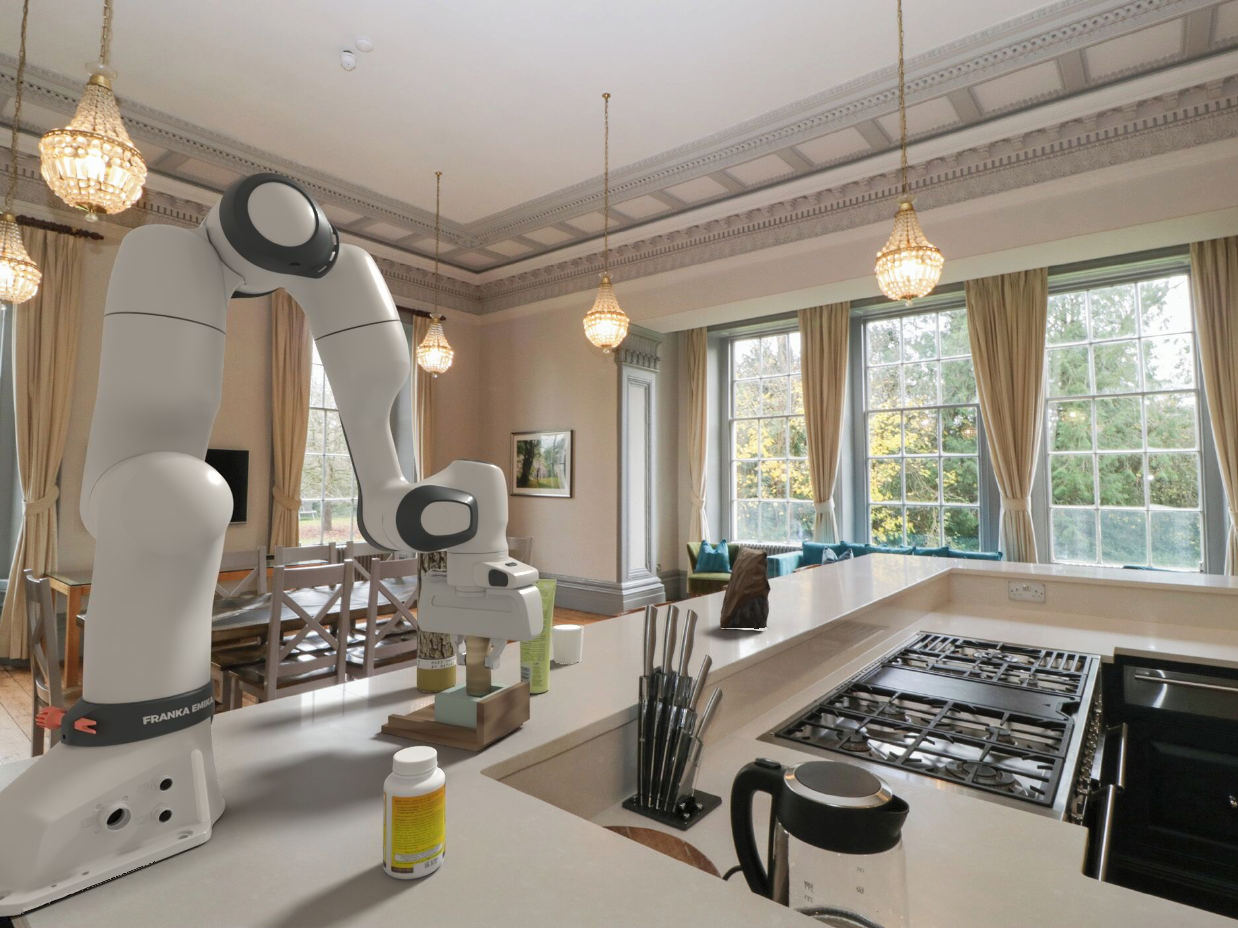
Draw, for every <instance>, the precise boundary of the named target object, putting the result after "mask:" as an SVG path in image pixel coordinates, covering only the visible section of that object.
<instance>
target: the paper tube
mask: <svg viewBox="0 0 1238 928" xmlns="http://www.w3.org/2000/svg"><path fill="white" fill-rule="evenodd" d="M416 563H417V564H416V565H417V566H416V567H417V575H416V577H417V579H416V581H417V582H416V589H417V591H416V595H417V596H416V688H417V689H418V690H419V691H420V692H422V693H423V692H424V693H440V692H442V691H445V690H447V689H450V688H452V687H454V686H456V685H457V653H456V652H455V650H454V648H453V646H452V644H451V642H450V634H446V633H437V632H427V631H422V630H421V629H420V627H419V625H418V607H419V599H420V593H421V589H422V577H423V576H424V574H425V573H426V572H428V571H429V570H430V569H439V570H442V569H447V548H446V549H442V550H438V551H435V552H431V553H417V562H416ZM428 576H431V575H429V574H428Z"/></svg>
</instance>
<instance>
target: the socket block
mask: <svg viewBox="0 0 1238 928" xmlns="http://www.w3.org/2000/svg"><path fill="white" fill-rule="evenodd" d="M513 685H514V684H506V683H500V682H492V681H491V692H490V693H488V694H485V695H468V694H467V693H466V681H464V682H462V683H460V684H458V685H457V684H456V685H455V686H454V687H452V688H450V689H447V690H445V691H441V692H436V694H434V703H435V713H434V721H435V722H441V723H446V724H452V725H457V726H463V727H468V728H474V729H477V702H479V701H481V700H483V699H485V698H487V697H489V696H491V695H494V694H496V693H498V692H500V691H502V690H504V689H506V688H509V687H511V686H513Z"/></svg>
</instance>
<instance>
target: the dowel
mask: <svg viewBox="0 0 1238 928" xmlns="http://www.w3.org/2000/svg"><path fill="white" fill-rule="evenodd" d="M465 645H466V666H465V682H466V693H467V694H468V695H485V694H488V693H490V692H491V682H492V669H486V668H485V657H486V656H489V655H490V654H491V652H492V646H491V644H490V638H484V637H476V636H473V635H468V636H466V639H465Z"/></svg>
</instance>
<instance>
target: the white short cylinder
mask: <svg viewBox="0 0 1238 928" xmlns="http://www.w3.org/2000/svg"><path fill="white" fill-rule="evenodd" d="M584 633H585V626H584V625H582V624H575V623H564V624H556V625H552V633H551V644H552V651H553V652H552V653H553V662H554V661H555V662H556V663H555V662H554V663H555V664H557V663H563V664H562V665H564V663H565V664H568V665H572V664H571V663H577V662H579V661H581V662H582V658H583V645H584V635H585V634H584ZM577 664H578V663H577Z"/></svg>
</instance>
